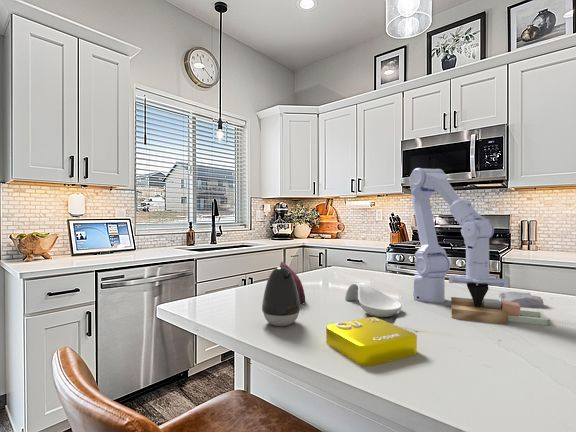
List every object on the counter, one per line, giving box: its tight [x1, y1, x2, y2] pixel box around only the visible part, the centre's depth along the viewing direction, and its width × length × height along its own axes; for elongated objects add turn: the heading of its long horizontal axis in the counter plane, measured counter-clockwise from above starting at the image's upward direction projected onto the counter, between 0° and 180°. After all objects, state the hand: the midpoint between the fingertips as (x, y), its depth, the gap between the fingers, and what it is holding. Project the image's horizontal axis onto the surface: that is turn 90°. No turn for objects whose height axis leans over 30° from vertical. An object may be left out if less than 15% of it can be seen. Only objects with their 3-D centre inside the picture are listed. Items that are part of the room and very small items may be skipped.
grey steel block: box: [482, 298, 501, 310], centre depth 96 cm, size 4×4×4 cm
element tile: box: [325, 316, 418, 367], centre depth 77 cm, size 15×15×5 cm
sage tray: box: [508, 309, 551, 327], centre depth 93 cm, size 9×8×2 cm
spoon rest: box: [344, 282, 402, 318], centre depth 107 cm, size 24×12×7 cm, turn 19°
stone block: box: [498, 291, 545, 309], centre depth 110 cm, size 12×5×10 cm
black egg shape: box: [261, 266, 301, 327], centre depth 93 cm, size 10×10×15 cm
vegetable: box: [279, 261, 306, 305], centre depth 115 cm, size 10×10×15 cm
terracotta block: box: [500, 299, 522, 317], centre depth 94 cm, size 4×4×4 cm
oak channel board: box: [450, 296, 509, 325], centre depth 98 cm, size 13×14×4 cm
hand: (477, 310), depth 98 cm, fingers closed
